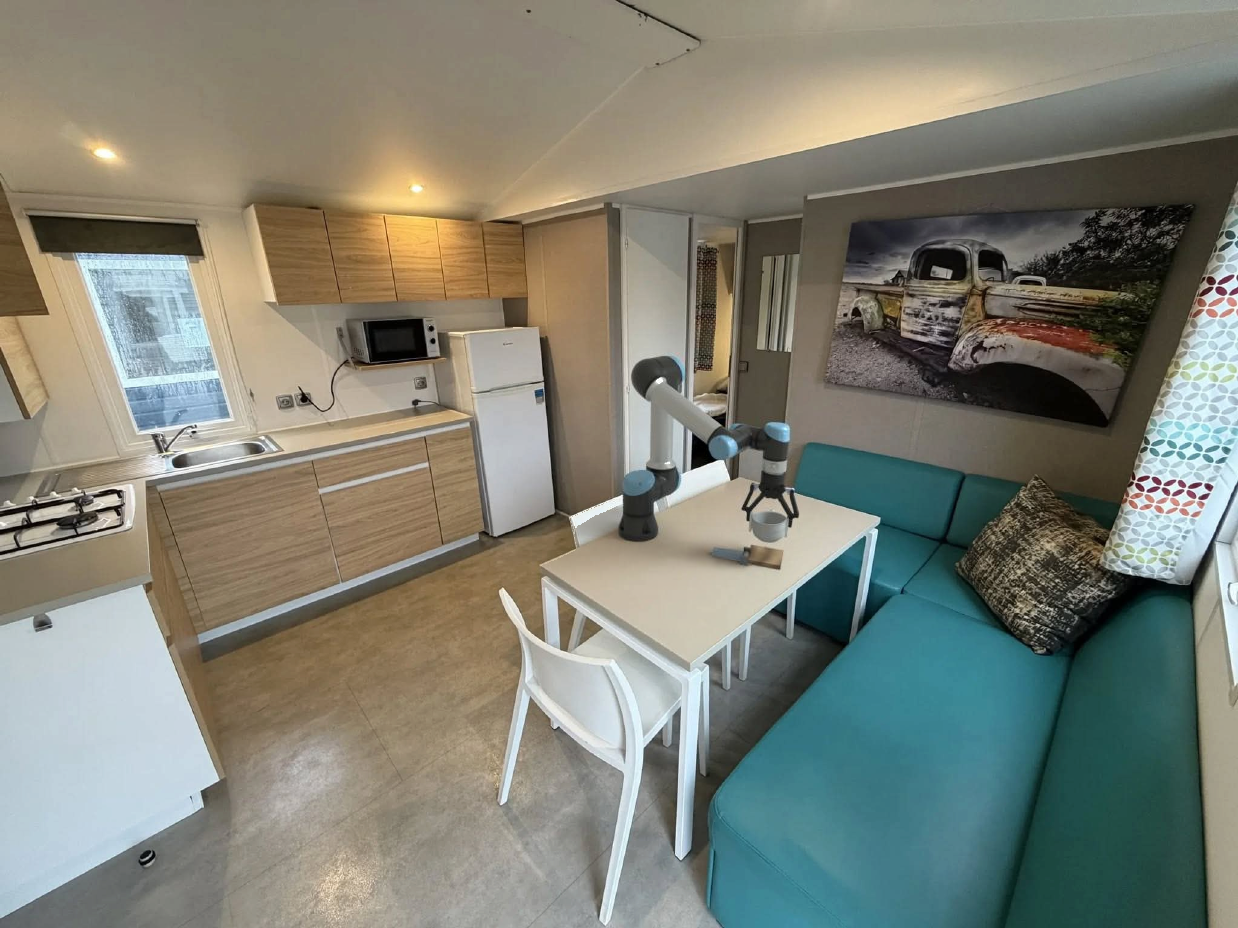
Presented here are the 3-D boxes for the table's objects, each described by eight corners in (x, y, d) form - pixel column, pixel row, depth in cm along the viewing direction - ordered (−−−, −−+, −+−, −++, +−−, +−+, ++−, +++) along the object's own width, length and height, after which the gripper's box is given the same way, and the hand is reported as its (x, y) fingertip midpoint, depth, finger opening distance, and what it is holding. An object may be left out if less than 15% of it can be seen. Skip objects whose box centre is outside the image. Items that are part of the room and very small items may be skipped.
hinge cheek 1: (743, 555, 166) (743, 547, 165) (743, 554, 167) (744, 546, 166) (750, 556, 166) (750, 549, 165) (750, 555, 166) (751, 547, 165)
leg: (748, 557, 165) (749, 550, 165) (746, 563, 161) (747, 556, 161) (714, 552, 170) (714, 545, 169) (711, 558, 166) (711, 551, 165)
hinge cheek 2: (740, 564, 161) (740, 556, 160) (740, 563, 162) (741, 555, 161) (747, 565, 160) (748, 557, 159) (747, 564, 161) (748, 556, 160)
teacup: (777, 549, 154) (779, 526, 151) (745, 540, 160) (746, 518, 157) (791, 533, 164) (794, 511, 162) (761, 525, 170) (762, 504, 168)
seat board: (746, 563, 162) (746, 559, 161) (750, 548, 171) (751, 544, 171) (780, 569, 158) (780, 565, 157) (783, 553, 167) (783, 550, 167)
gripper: (734, 470, 156) (730, 531, 163) (812, 479, 147) (804, 543, 154) (738, 463, 162) (734, 522, 169) (812, 471, 154) (805, 533, 161)
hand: (767, 532), depth 162 cm, fingers closed on teacup, 11 cm apart
